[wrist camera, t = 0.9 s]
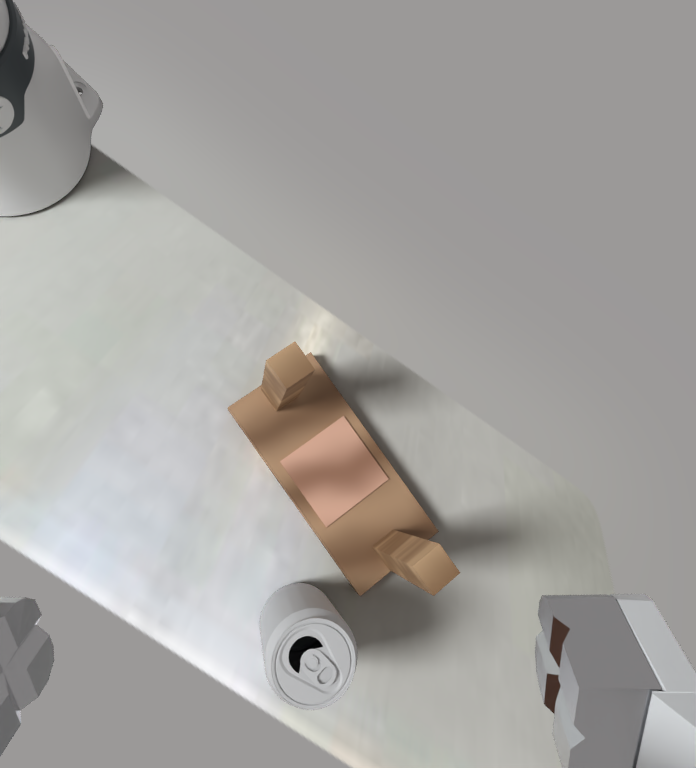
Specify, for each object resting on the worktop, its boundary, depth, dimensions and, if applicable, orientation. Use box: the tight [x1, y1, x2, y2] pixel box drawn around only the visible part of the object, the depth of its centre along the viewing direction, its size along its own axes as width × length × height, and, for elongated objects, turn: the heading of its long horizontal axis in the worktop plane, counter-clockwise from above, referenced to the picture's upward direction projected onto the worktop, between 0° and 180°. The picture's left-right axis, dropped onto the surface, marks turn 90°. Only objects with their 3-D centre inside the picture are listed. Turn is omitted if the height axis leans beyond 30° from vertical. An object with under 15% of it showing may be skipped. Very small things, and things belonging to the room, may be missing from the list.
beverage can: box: [260, 583, 357, 710], centre depth 42 cm, size 6×6×12 cm
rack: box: [228, 342, 460, 596], centre depth 44 cm, size 20×9×14 cm, turn 36°
